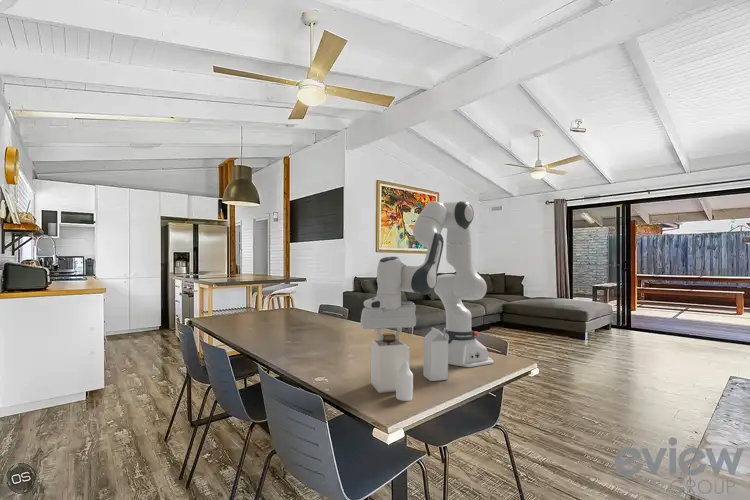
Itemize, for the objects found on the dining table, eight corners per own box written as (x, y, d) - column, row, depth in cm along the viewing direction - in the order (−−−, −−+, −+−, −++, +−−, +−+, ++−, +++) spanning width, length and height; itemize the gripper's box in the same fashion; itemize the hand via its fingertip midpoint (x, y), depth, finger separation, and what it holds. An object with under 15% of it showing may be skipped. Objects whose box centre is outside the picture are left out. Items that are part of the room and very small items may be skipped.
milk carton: (430, 381, 141) (431, 330, 141) (423, 375, 148) (423, 327, 148) (448, 380, 143) (448, 330, 143) (439, 374, 150) (440, 326, 150)
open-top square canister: (403, 380, 142) (403, 338, 142) (413, 389, 132) (414, 344, 132) (370, 383, 138) (371, 340, 138) (378, 393, 128) (379, 346, 129)
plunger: (394, 373, 140) (395, 331, 140) (402, 380, 132) (402, 336, 132) (374, 375, 137) (374, 332, 138) (380, 382, 130) (381, 337, 130)
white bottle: (392, 360, 126) (406, 358, 129) (392, 396, 126) (406, 393, 129) (402, 364, 121) (417, 362, 124) (402, 402, 121) (416, 399, 123)
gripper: (412, 300, 141) (412, 337, 141) (359, 301, 135) (359, 339, 135) (419, 302, 135) (418, 340, 135) (364, 303, 129) (363, 343, 129)
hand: (388, 340), depth 135 cm, fingers closed on plunger, 4 cm apart
